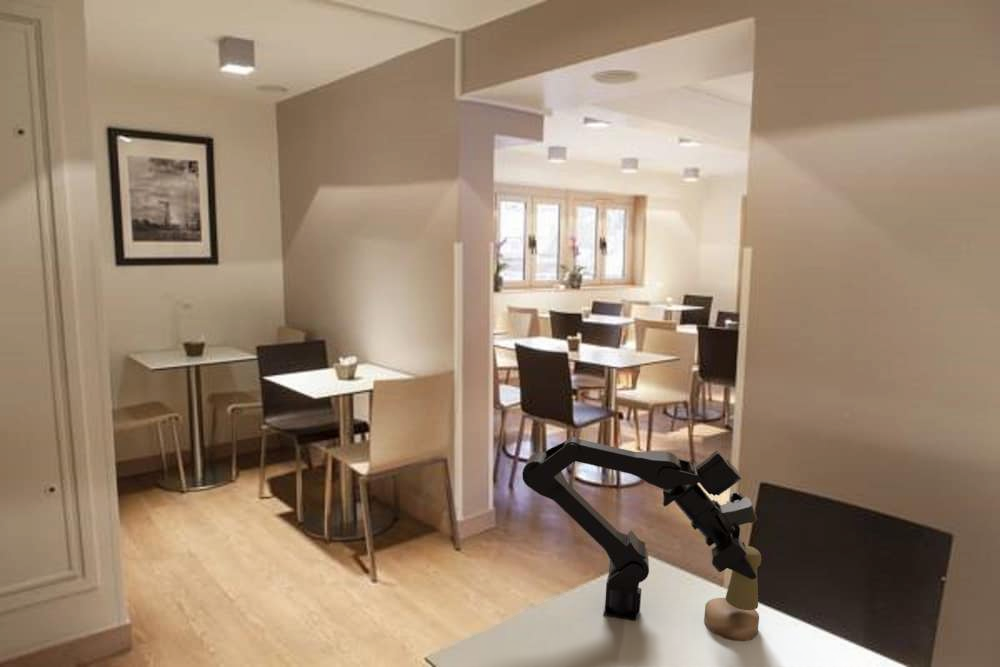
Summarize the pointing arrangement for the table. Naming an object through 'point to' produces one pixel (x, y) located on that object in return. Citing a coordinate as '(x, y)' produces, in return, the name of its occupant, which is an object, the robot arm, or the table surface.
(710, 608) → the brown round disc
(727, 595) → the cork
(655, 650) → the table surface
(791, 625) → the table surface
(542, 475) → the robot arm
